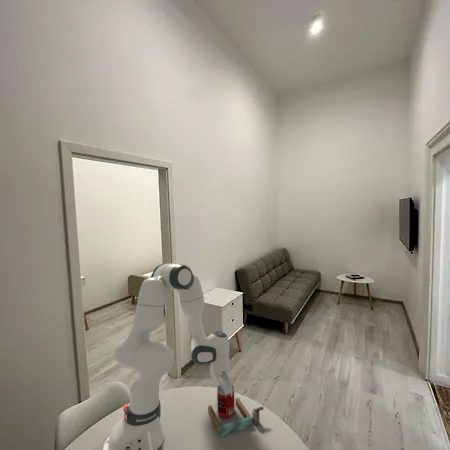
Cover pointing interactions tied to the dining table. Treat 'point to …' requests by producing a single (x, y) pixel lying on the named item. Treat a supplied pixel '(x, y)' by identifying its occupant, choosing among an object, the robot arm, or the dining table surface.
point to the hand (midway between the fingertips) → (220, 396)
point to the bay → (238, 424)
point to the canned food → (225, 403)
